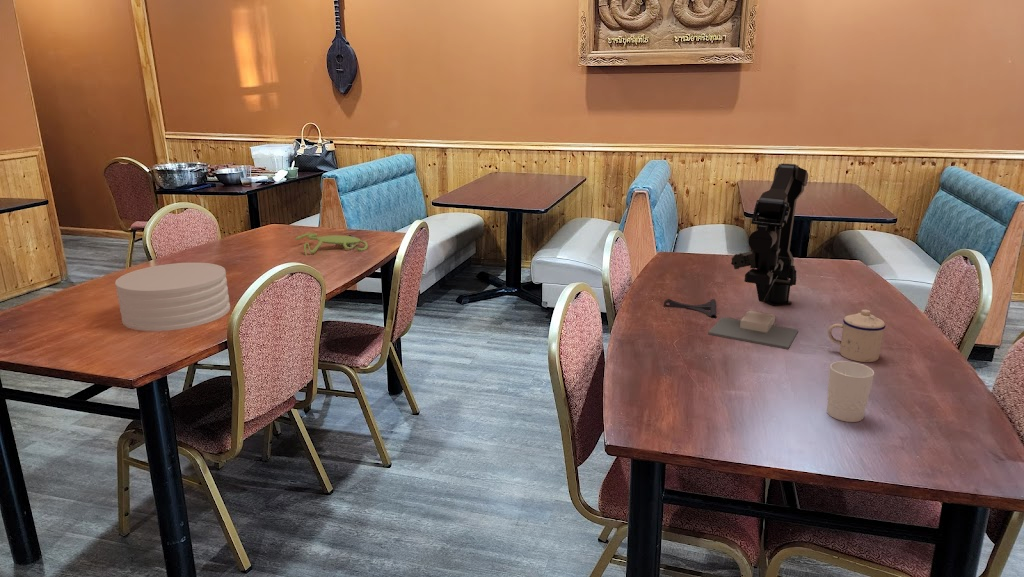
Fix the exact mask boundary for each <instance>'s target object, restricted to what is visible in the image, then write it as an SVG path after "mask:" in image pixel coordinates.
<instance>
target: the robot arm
mask: <svg viewBox="0 0 1024 577" xmlns="http://www.w3.org/2000/svg"><path fill="white" fill-rule="evenodd" d="M808 180H809V173H808V170H806V169H804V168H802V167H799V165H797V164H795V163H780V164H778V165H777V167H775V169H774V174H773V181H772V184H771V185H770V188H769V190H767V191H764V192H763V193H762V194H761V195H760V197H759V199H757V200H756V201H755V207H754V209H753V212H752V213H753V214H752V218H751V221H750V222H751V223H750V224H751V225H756V230H754V231H753V232H752V233H751V234H750V235H749V237H748V246H749V247H750V249H751V250H752V251H747V252H743V253H742V252H740V253H736V254H734V255H733V256H732V257H731V263H730V264H731V265H732V266H733V268H734V270H739V269H740V268H745V267H749V268H750V270H748V271H747V272H746V273H745V274H744V281H743V282H745V283H750V284H755V287H756V293H757V298H758V302H761V303H763V302H765V303H767V304H769V305H771V306H785V305H792V304H793V303H792V301H790V294H791V292H790V291H791V287H793V286H796V285H797V278H798V276H797V270H796V266H795V265H794V263H795V259H794V257H793V253H792V252H791V251H790V249H791V241H792V237H793V236H792V235H793V234H792V233H793V228H794V227H793V226H794V222H795V221H794V220H795V213H796V206H797V200H799V197H801V195H802V194H803V193H804V192H805V187H807V186H808V185H807V184H808V183H809V182H808Z"/></svg>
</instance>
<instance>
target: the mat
mask: <svg viewBox="0 0 1024 577" xmlns="http://www.w3.org/2000/svg"><path fill="white" fill-rule="evenodd" d="M740 323H741V319H738V318H731V317H726V316H722V317H720V319H719V320H718V321H717V322H716V323H715V324H714V326H712V327H711V328H710V329H709V331H708V332H707V335H709V336H715V337H721V338H726V339H731V340H736V341H742V342H748V343H751V344H752V343H753V344H758V345H762V346H769V347H774V348H780V349H784V350H785V349H786V350H789V348H790V347H791V346H792V343H793V342H794V340H795V338H796V337H797V335H798V333H799V329H796V328H795V329H794V328H789V327H784V326H777V325H773V326H772V327H771V329H770V330H769V332H768V333H761V332H756V331H750V330H744V329H740Z"/></svg>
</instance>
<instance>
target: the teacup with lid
mask: <svg viewBox="0 0 1024 577" xmlns="http://www.w3.org/2000/svg"><path fill="white" fill-rule="evenodd" d="M842 322H843V324H842V323H834V324H832V325H830V326H829V328H828V329H827V330H828V332H827V334H828V338H829V339H830V340H831V341H832V342H833V343H835V344H837V345H840V346H839V354H840V355H841V356H842V357H844V358H845V359H848V360H851V361H853V362H858V363H860V362H861V363H872V362H876V361H878V360H879V358H880V352H881V346H882V341H883V335H884V331H885V330H884V329H885V328H886V323H885V322H884V320H882V319H881V318H878V317H876V316H875V315H873V314H871V310H869V309H861V311H860V312H857V313H854V314H847V315H846V316H844V318H843V320H842ZM835 328H841V329H842V333H841V339H840V340H839V339H836V338H835V337H834V336H833V334H832V330H833V329H835Z"/></svg>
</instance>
